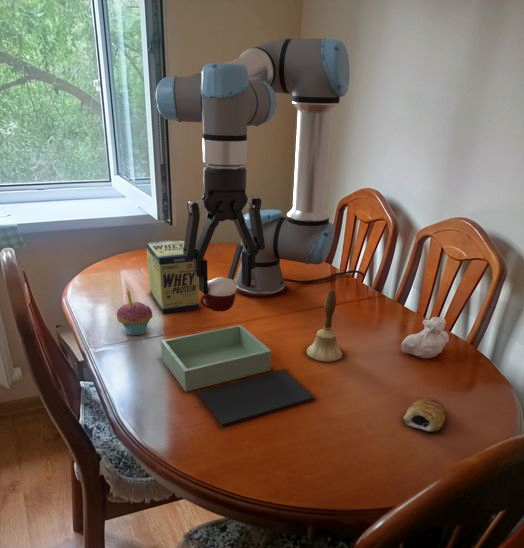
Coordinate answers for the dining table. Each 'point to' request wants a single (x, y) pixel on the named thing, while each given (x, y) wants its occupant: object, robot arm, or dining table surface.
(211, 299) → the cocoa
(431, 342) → the white animal figurine
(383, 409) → the dining table surface
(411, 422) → the pastry
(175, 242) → the protein box
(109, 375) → the dining table surface
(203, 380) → the tote
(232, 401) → the mat
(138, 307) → the cupcake
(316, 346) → the hand bell
